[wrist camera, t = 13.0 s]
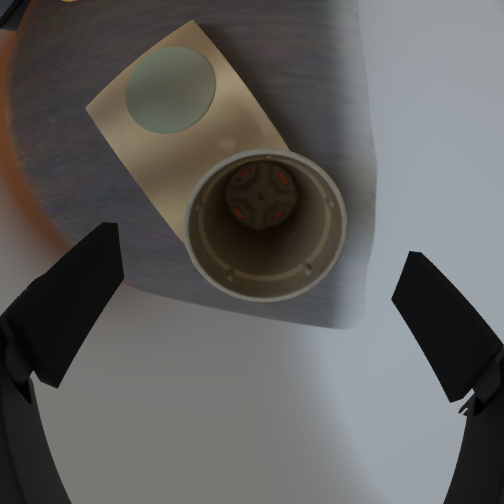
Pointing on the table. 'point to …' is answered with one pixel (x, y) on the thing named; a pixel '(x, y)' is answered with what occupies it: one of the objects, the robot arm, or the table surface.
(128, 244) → the table surface
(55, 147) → the table surface
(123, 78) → the board
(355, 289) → the table surface
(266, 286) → the flower pot
